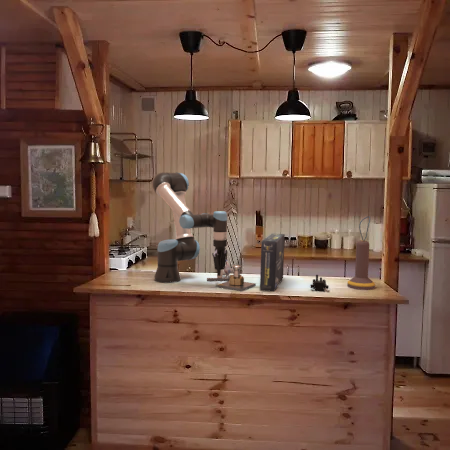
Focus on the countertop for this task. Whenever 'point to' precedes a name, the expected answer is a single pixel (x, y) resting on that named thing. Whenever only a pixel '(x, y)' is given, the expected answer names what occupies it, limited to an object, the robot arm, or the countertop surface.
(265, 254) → the box
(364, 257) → the flashlight
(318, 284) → the toy
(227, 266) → the figurine
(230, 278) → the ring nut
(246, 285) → the brass fixture on plate
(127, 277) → the countertop surface
